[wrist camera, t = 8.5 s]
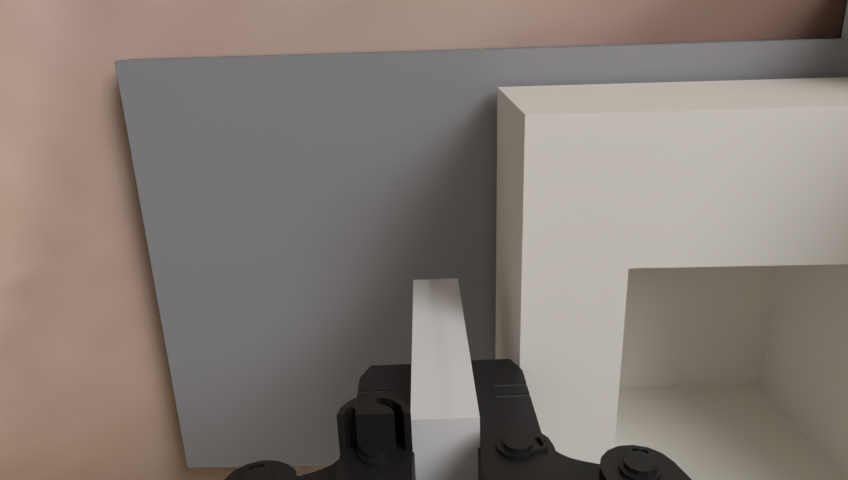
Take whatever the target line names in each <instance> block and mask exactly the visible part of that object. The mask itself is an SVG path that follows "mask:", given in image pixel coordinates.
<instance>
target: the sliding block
mask: <svg viewBox="0 0 848 480" xmlns="http://www.w3.org/2000/svg"><path fill="white" fill-rule="evenodd" d="M495 359H511V360H512V361H513V362H514V363H515V364H516V365H517V366H519V367H520V368H521V369H522V371H523V374H524V377H525V380H526V385H527V387H528V390H529V393H530V397H531V400H532V403H533V406H534V410H535V413H536V416H537V419H538V423H539V426H540V429H541V433H542V434H544V435H545V436H547V437H548V438H549V439H550V441H551V442H552V444H553V445H554V448H555V450H556V451H557V452H559V453H560V454H562V455H565V456H567V457H569V458H573V459H576V460H580V461H585V462H591V463H596V464H600V460H601V457H602V456H603V455H604V454H605V452H606V451H607V450H609V449H612V448H614V447H617V446H623V445H637V446H643V447H648V448H651V449H653V450H656V451H658V452H661V453H663V454H664V455H666V456H667V457H668V458H670V459H671V460H672V461H674V462H675V463H676V464H677V465H678V466H679V467H680V468H681V469H682V470H683V471H684V472H685V473H686V474H687V475H688V476H689V477H690V478H691V479H692V480H848V77H832V78H797V79H762V80H726V81H691V82H655V83H620V84H585V85H549V86H514V87H497V203H496V339H495Z"/></svg>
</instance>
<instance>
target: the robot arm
mask: <svg viewBox="0 0 848 480" xmlns="http://www.w3.org/2000/svg"><path fill="white" fill-rule="evenodd" d="M336 416H337V427H338V437H339V448H340V457H339V460H337V461H336V462H335V463H334V464H332V465H330V466H328V467H326V468H325V469H322V470H319V471H316V472H313V473H309V474H306V475H302V476H298V477H297V475H296V471H295V470H294V469H293V468H292V467H291V466H290V465H288V464H286V463H283V462H280V461H277V460H262V461H258V462H254V463H249V464H246V465H245V466H243V467H241V468H239V469H237V470H235V471H233V472H232V473H231V474H230V475H229V476H228V477H227V478H226V479H224V480H692V479H691V478H690V477H689V476H688V475H687V474H686V473H685V472H684V471H683V470H682V469H681V468H680V467H679V466H678V465H677V464H676V463H675V462H674V461H672V460H671V459H670V458H668V457H667V456H666V455H664V454H663V453H661V452H658V451H656V450H653V449H651V448H648V447H643V446H637V445H623V446H617V447H614V448H612V449H609V450H607V451H606V452H605V454H604V455H603V456H602V457H601V460H600V464H596V463H591V462H585V461H580V460H576V459H573V458H569V457H567V456H565V455H562V454H560V453H559V452H557V451H556V450H555V448H554V445H553V444H552V442H551V441H550V439H549V438H548V437H547V436H545V435H544V434H542V433H541V429H540V426H539V423H538V419H537V416H536V413H535V410H534V406H533V403H532V400H531V397H530V393H529V390H528V387H527V385H526V380H525V377H524V374H523V371H522V369H521V368H520V367H519V366H517V365H516V364H515V363H514V362H513V361H512V360H511V359H490V360H471V358H470V352H469V346H468V340H467V333H466V327H465V321H464V314H463V308H462V302H461V295H460V289H459V283H458V278H450V279H423V280H413V319H412V364H398V365H371V366H370V367H369V368H368V369H367V370H366V371H365V372H364V374H363V375H362V376H361V377H360V380H359V386H358V393H357V398H355V399H352V400H350V401H349V402H347V403H346V404H344V405H343V406H342V407H341V408H340V410H339V412H338V413H337V415H336Z"/></svg>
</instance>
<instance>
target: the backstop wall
mask: <svg viewBox="0 0 848 480" xmlns="http://www.w3.org/2000/svg"><path fill="white" fill-rule="evenodd" d="M115 66H116V72H117V77H118V83H119V89H120V94H121V100H122V105H123V111H124V117H125V122H126V128H127V133H128V139H129V145H130V150H131V156H132V161H133V167H134V172H135V178H136V184H137V189H138V195H139V200H140V206H141V212H142V217H143V223H144V228H145V234H146V239H147V245H148V251H149V256H150V262H151V267H152V273H153V279H154V284H155V290H156V295H157V301H158V306H159V312H160V318H161V323H162V329H163V334H164V340H165V346H166V351H167V357H168V362H169V368H170V373H171V379H172V385H173V390H174V396H175V401H176V407H177V413H178V418H179V424H180V429H181V435H182V441H183V446H184V452H185V457H186V463H187V468H231V467H243V466H245V465H246V464H249V463H254V462H258V461H262V460H277V461H280V462H283V463H286V464H288V465H290V466H291V467H328V466H330V465H332V464H334V463H335V462H336V461H337V460H339V457H340V448H339V437H338V427H337V416H336V415H337V413H338V412H339V410H340V408H341V407H342V406H343V405H344V404H346V403H347V402H349V401H350V400H352V399H355V398H357V393H358V386H359V380H360V377H361V376H362V375H363V374H364V372H365V371H366V370H367V369H368V368H369V367H370V366H371V365H398V364H412V319H413V280H423V279H450V278H458V283H459V289H460V295H461V302H462V308H463V314H464V321H465V327H466V333H467V340H468V346H469V352H470V358H471V360H490V359H495V339H496V203H497V87H514V86H549V85H585V84H620V83H655V82H691V81H726V80H762V79H797V78H832V77H848V0H847V5H846V11H845V17H844V22H843V28H842V34H841V38H826V39H792V40H759V41H726V42H693V43H660V44H626V45H593V46H560V47H527V48H493V49H460V50H427V51H394V52H361V53H327V54H294V55H261V56H228V57H195V58H161V59H130V60H120V61H115Z"/></svg>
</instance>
